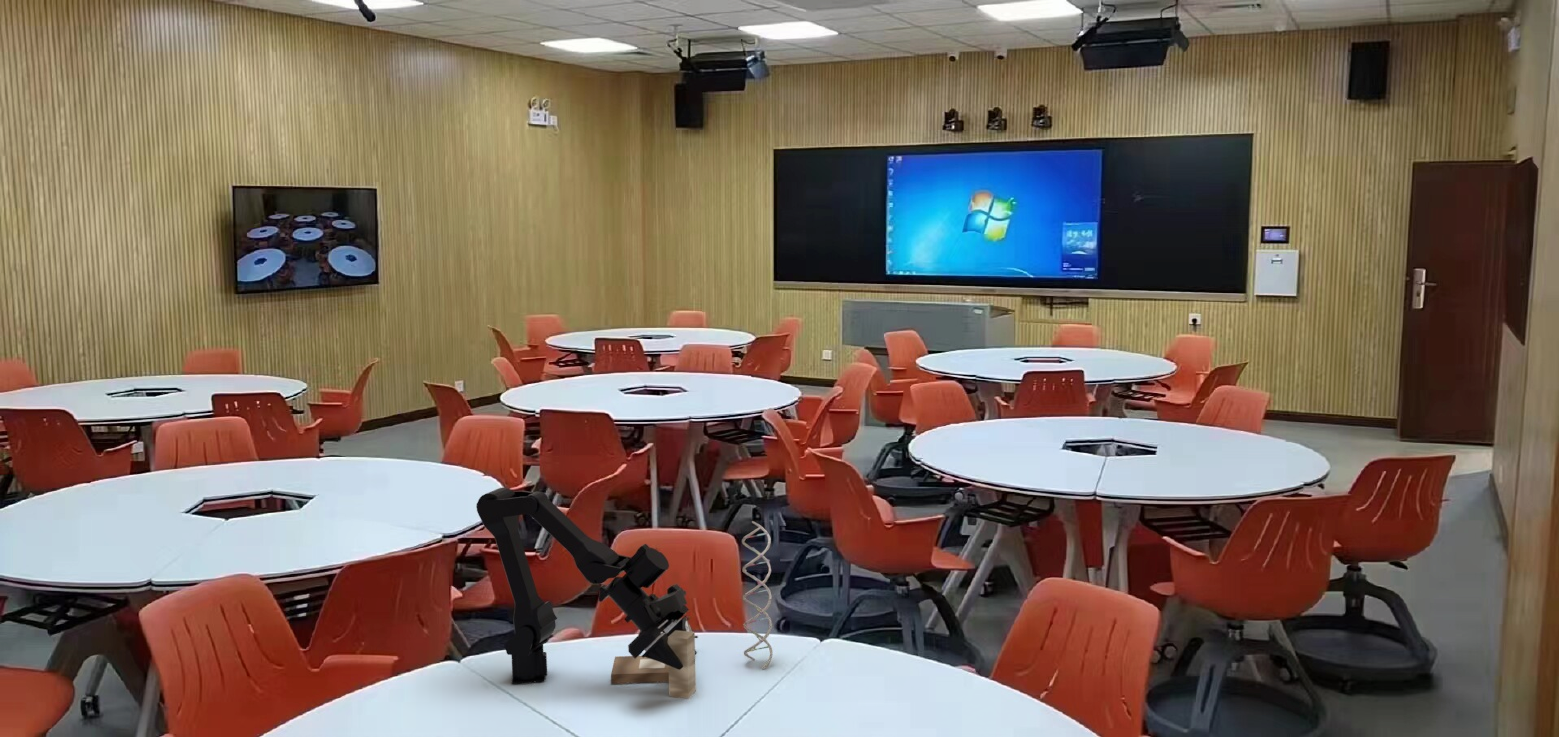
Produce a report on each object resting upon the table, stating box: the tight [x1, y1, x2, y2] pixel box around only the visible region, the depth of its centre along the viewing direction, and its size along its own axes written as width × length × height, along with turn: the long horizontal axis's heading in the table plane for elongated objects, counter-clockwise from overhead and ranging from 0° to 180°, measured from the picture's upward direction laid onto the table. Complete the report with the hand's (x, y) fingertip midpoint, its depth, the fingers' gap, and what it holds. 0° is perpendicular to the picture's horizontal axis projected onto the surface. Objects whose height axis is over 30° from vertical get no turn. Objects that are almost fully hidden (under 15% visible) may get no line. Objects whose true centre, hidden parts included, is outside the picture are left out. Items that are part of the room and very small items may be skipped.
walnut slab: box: [610, 655, 669, 685], centre depth 239 cm, size 16×10×2 cm, turn 93°
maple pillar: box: [668, 630, 697, 699], centre depth 228 cm, size 4×4×12 cm
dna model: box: [741, 520, 774, 670], centre depth 241 cm, size 7×6×30 cm
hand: (688, 661), depth 227 cm, fingers open, 7 cm apart
